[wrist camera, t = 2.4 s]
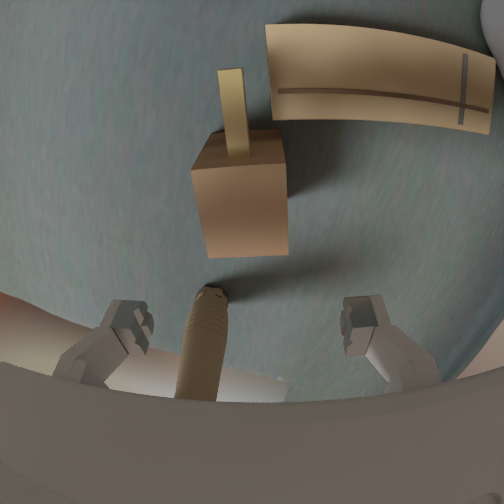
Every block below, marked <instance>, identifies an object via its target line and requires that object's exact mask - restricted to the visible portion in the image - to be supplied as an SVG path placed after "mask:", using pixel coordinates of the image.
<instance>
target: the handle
mask: <svg viewBox="0 0 504 504" xmlns="http://www.w3.org/2000/svg"><path fill="white" fill-rule="evenodd" d="M227 308H228V298H227V296H225V295H224V294H223V290H222V289H220V288H219V287H216V288H212V287H207V286H205V287H202V289H201V291H200V292H198V293H197V295H196V297H195V299H194V304H193V306H192V308H191V311H190V313H189V316H188V319H187V322H186V326H185V331H184V336H183V341H182V349H181V356H180V364H179V371H178V378H177V386H176V392H175V396H174V398H176V399H187V400H200V401H216V398H217V392H218V386H219V380H220V374H221V369H222V364H223V359H224V353H225V348H226V341H227V332H228V313H227Z"/></svg>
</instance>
